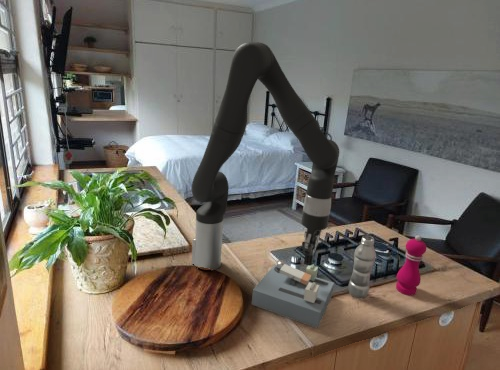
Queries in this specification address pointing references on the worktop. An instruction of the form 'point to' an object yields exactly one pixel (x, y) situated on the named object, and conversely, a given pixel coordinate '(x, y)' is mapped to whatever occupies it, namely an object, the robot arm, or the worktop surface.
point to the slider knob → (311, 292)
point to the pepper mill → (411, 267)
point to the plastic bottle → (362, 268)
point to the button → (280, 264)
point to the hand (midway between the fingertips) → (308, 263)
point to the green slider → (312, 271)
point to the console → (292, 297)
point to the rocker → (295, 274)
